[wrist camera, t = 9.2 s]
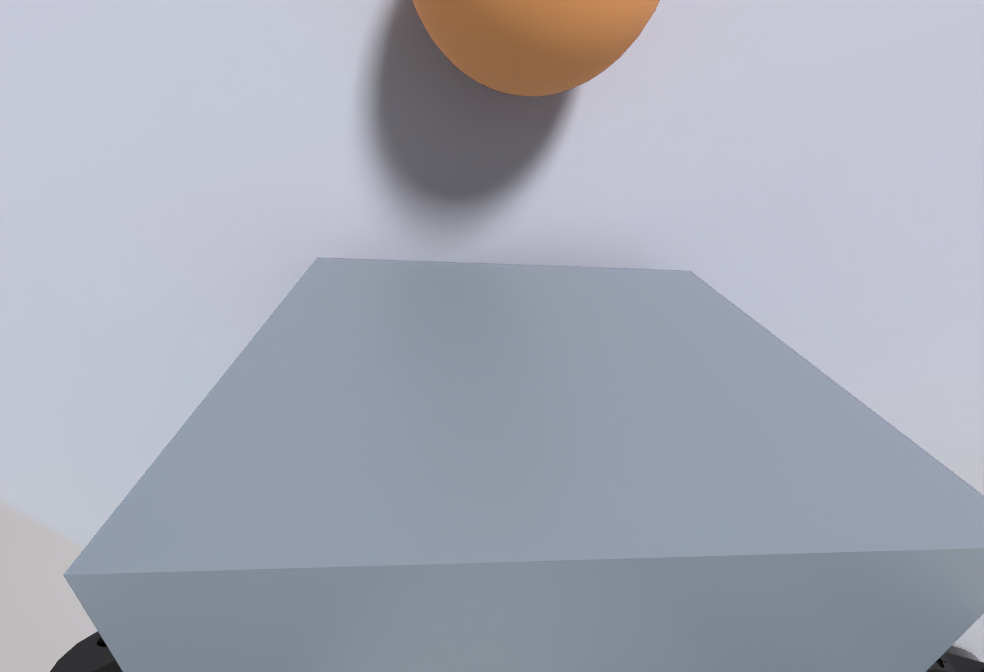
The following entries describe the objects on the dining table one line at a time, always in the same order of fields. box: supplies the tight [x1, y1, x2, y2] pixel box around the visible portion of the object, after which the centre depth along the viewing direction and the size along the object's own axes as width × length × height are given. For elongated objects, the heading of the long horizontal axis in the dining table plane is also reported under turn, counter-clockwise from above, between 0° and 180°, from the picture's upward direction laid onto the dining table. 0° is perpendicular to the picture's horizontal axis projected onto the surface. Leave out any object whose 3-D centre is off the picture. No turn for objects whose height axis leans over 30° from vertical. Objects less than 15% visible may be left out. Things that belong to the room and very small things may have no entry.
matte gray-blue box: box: [64, 258, 984, 672], centre depth 11 cm, size 10×10×9 cm
